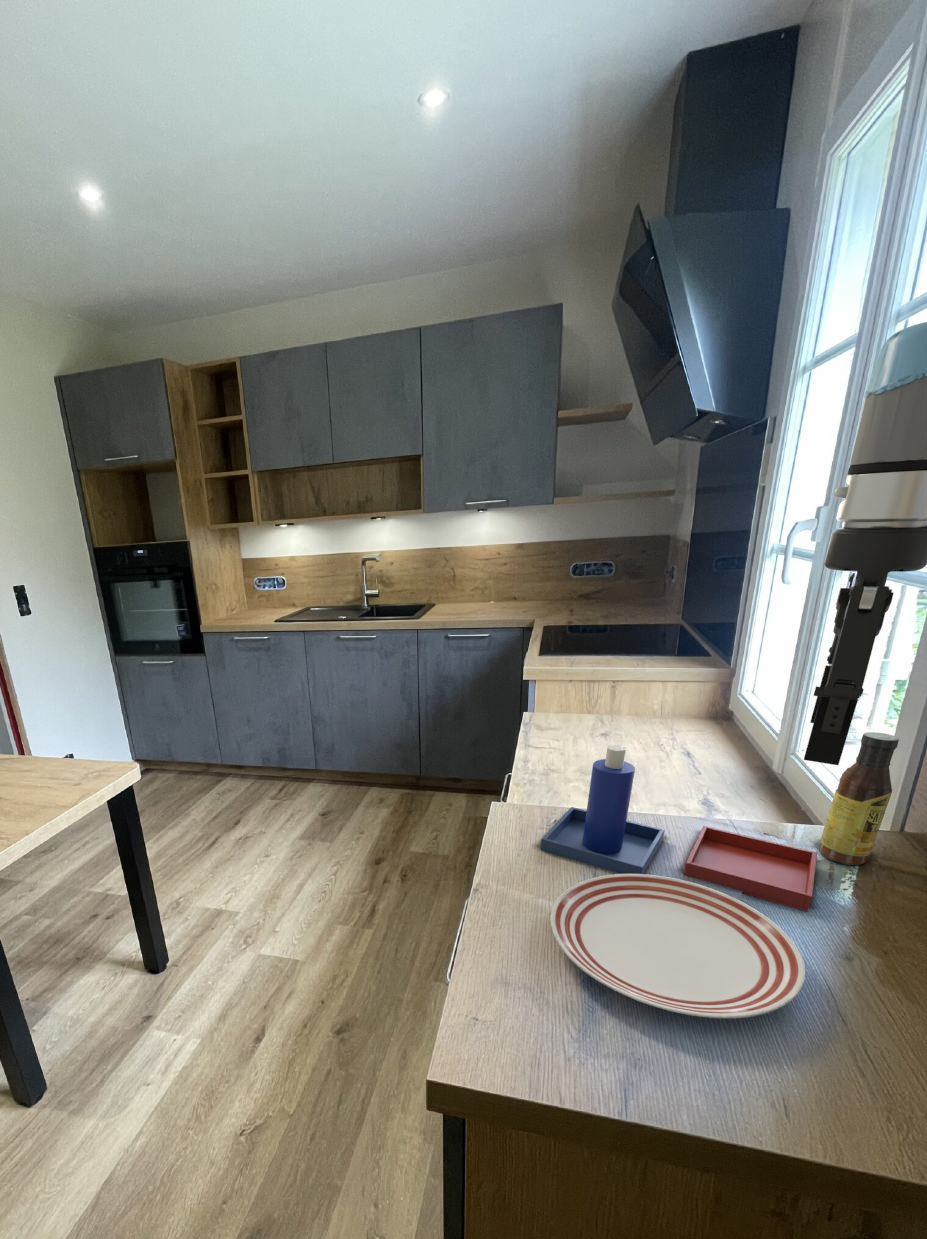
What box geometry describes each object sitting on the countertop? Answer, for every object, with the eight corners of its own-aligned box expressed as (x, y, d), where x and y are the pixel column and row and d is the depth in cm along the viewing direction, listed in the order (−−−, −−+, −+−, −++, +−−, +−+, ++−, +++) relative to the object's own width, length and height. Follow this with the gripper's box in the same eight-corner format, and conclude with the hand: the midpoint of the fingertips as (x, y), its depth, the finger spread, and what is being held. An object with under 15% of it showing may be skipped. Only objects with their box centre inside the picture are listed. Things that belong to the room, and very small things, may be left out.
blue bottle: (626, 842, 100) (642, 745, 94) (615, 858, 96) (632, 757, 89) (589, 832, 104) (602, 738, 97) (577, 847, 99) (590, 749, 93)
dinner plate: (557, 1016, 67) (560, 992, 66) (542, 881, 92) (544, 862, 90) (847, 1059, 61) (857, 1034, 59) (748, 901, 85) (753, 881, 84)
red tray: (812, 866, 93) (817, 852, 92) (807, 912, 83) (812, 896, 82) (700, 838, 102) (703, 825, 101) (682, 877, 91) (685, 862, 90)
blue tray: (662, 843, 101) (664, 829, 100) (639, 882, 91) (642, 867, 90) (569, 819, 110) (571, 806, 109) (539, 852, 99) (541, 838, 98)
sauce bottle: (861, 872, 91) (903, 747, 84) (811, 856, 96) (847, 736, 88) (872, 856, 95) (914, 736, 87) (824, 842, 99) (860, 726, 92)
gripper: (835, 521, 67) (788, 706, 76) (830, 530, 49) (769, 772, 57) (926, 519, 63) (866, 715, 71) (957, 528, 45) (872, 790, 53)
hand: (823, 741), depth 64 cm, fingers open, 13 cm apart
